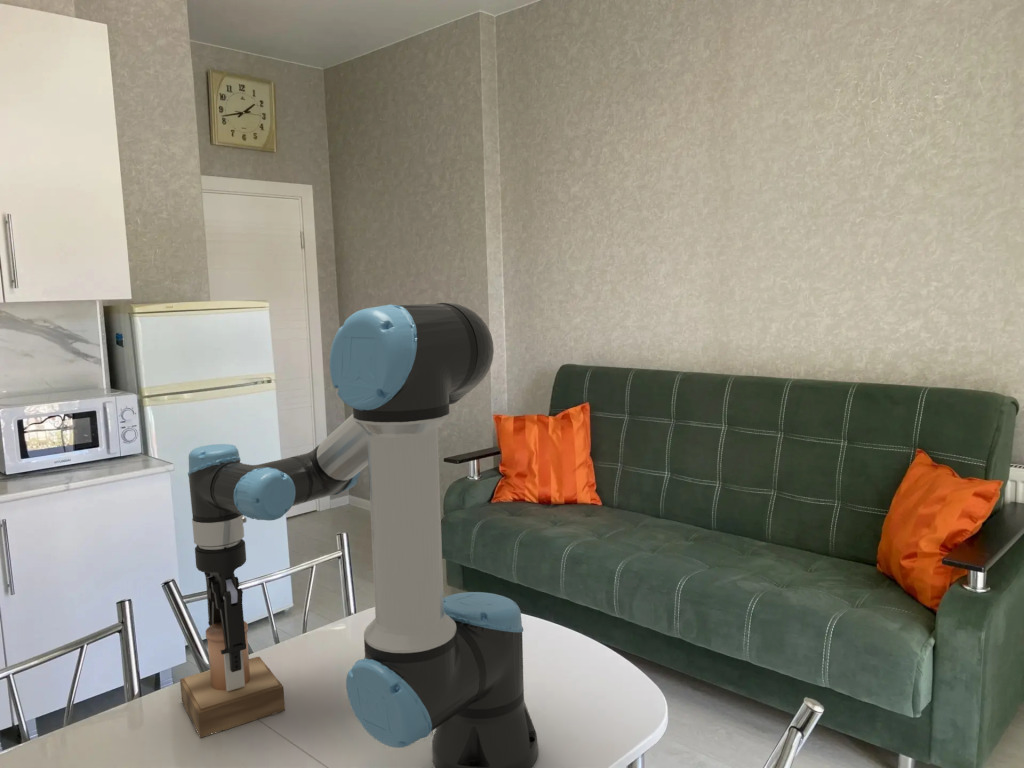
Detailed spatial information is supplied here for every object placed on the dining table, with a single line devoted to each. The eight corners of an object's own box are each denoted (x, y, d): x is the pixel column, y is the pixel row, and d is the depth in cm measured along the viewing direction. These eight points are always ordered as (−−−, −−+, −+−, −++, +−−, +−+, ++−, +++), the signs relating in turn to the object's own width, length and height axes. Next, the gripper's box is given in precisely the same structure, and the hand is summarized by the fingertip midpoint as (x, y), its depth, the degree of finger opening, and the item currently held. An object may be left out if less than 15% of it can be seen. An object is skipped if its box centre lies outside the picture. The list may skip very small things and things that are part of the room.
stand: (284, 710, 125) (283, 684, 124) (200, 738, 117) (198, 711, 117) (260, 678, 135) (259, 654, 135) (182, 702, 128) (179, 677, 128)
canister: (256, 682, 125) (252, 629, 124) (215, 695, 121) (211, 640, 120) (245, 667, 130) (241, 616, 129) (205, 678, 127) (201, 626, 126)
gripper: (261, 552, 117) (271, 696, 120) (228, 523, 133) (237, 651, 136) (210, 563, 113) (221, 712, 116) (182, 532, 129) (192, 663, 131)
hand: (230, 679), depth 126 cm, fingers closed on canister, 6 cm apart
